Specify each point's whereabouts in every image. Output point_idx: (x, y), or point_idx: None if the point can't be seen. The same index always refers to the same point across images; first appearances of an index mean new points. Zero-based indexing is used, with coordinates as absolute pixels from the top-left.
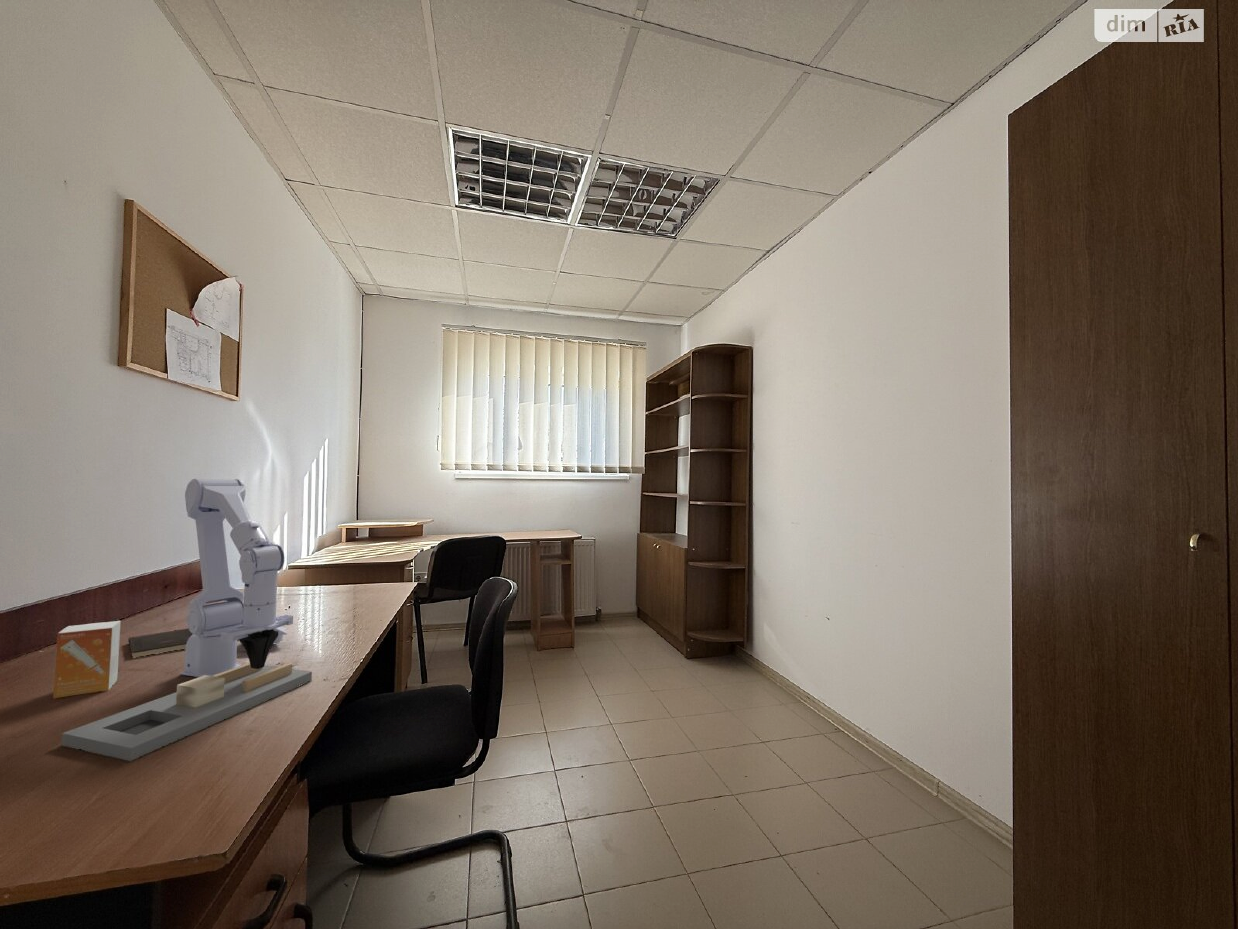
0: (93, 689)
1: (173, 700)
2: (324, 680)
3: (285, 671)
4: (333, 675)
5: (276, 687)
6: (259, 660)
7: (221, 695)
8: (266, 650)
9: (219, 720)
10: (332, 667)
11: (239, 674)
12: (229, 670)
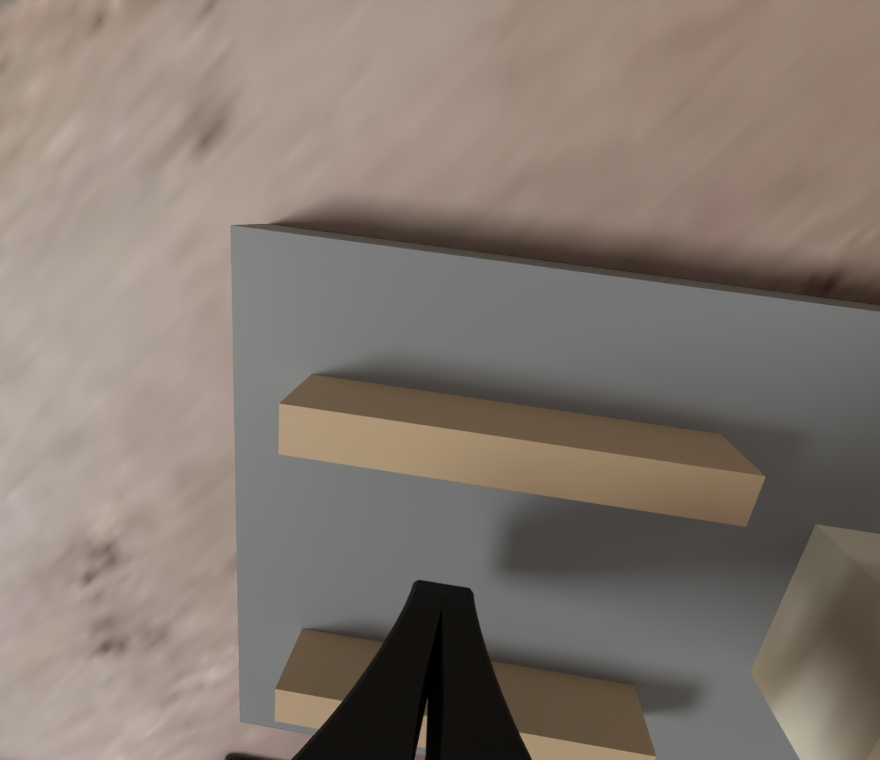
0: None
1: None
2: (225, 122)
3: (363, 397)
4: (118, 127)
5: (599, 274)
6: (479, 644)
7: (842, 537)
8: (399, 708)
9: None
10: (4, 268)
11: None
12: None
